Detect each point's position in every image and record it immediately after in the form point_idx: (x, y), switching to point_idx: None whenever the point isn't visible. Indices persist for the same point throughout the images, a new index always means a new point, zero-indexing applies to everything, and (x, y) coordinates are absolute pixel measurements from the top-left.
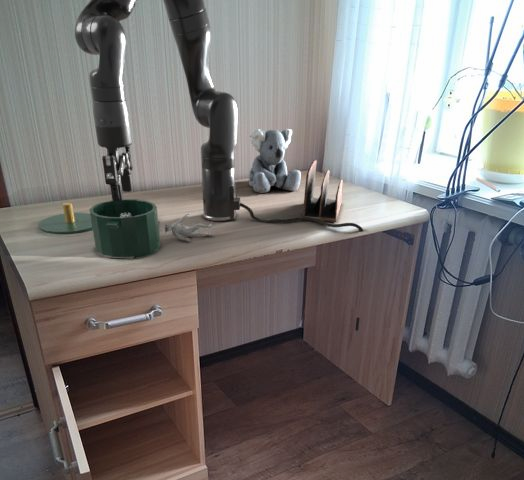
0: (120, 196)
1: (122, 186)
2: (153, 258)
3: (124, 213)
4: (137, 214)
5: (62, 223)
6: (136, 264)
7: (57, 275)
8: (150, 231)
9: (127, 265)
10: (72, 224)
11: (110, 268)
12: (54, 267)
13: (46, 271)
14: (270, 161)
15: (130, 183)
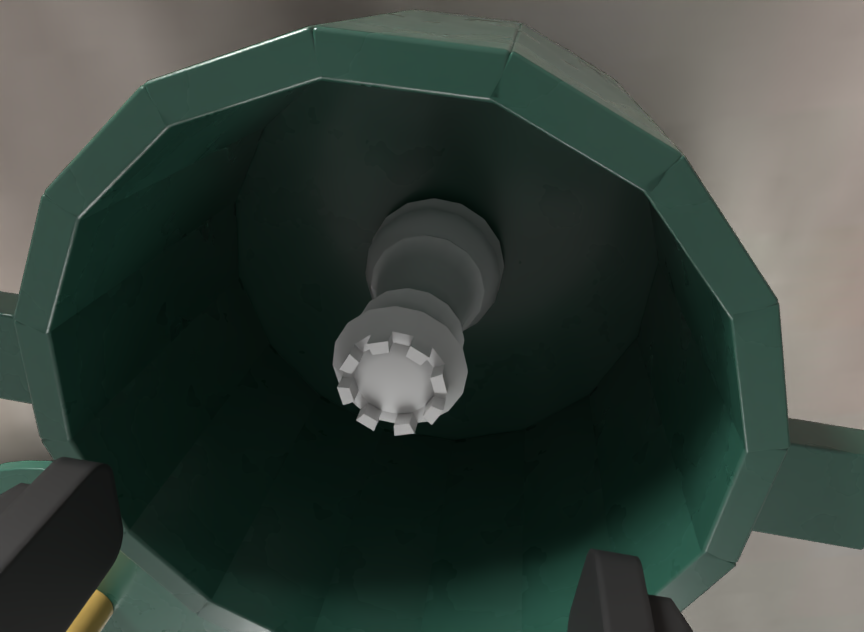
0: (643, 619)
1: (81, 599)
2: (696, 42)
3: (348, 400)
4: (144, 269)
5: (125, 630)
6: (801, 171)
7: (850, 582)
8: (604, 86)
9: (803, 235)
10: (128, 591)
11: (829, 339)
12: (722, 601)
13: (772, 626)
14: None
15: (15, 542)
